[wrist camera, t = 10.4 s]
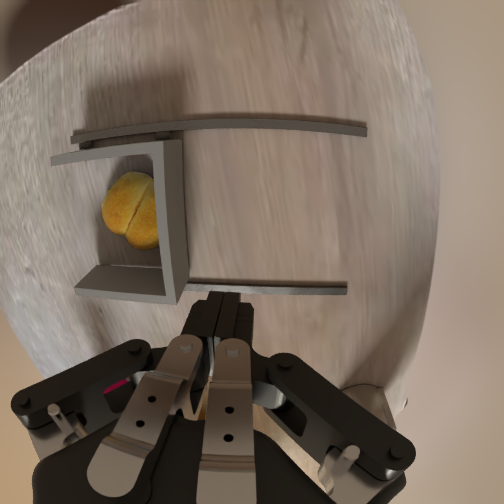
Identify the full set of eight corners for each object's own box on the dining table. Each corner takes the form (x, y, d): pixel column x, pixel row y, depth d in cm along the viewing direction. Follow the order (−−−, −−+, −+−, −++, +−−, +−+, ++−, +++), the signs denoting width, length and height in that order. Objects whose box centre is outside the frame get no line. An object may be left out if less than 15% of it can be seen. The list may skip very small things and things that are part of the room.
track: (365, 128, 26) (367, 128, 26) (345, 292, 34) (346, 295, 34) (72, 136, 27) (70, 136, 27) (93, 281, 35) (92, 283, 35)
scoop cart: (183, 130, 27) (162, 130, 21) (190, 282, 34) (177, 312, 28) (82, 142, 28) (49, 148, 22) (101, 276, 35) (77, 301, 29)
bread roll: (157, 255, 34) (146, 270, 30) (102, 214, 32) (85, 225, 28) (193, 202, 31) (184, 211, 27) (131, 158, 29) (115, 162, 25)
